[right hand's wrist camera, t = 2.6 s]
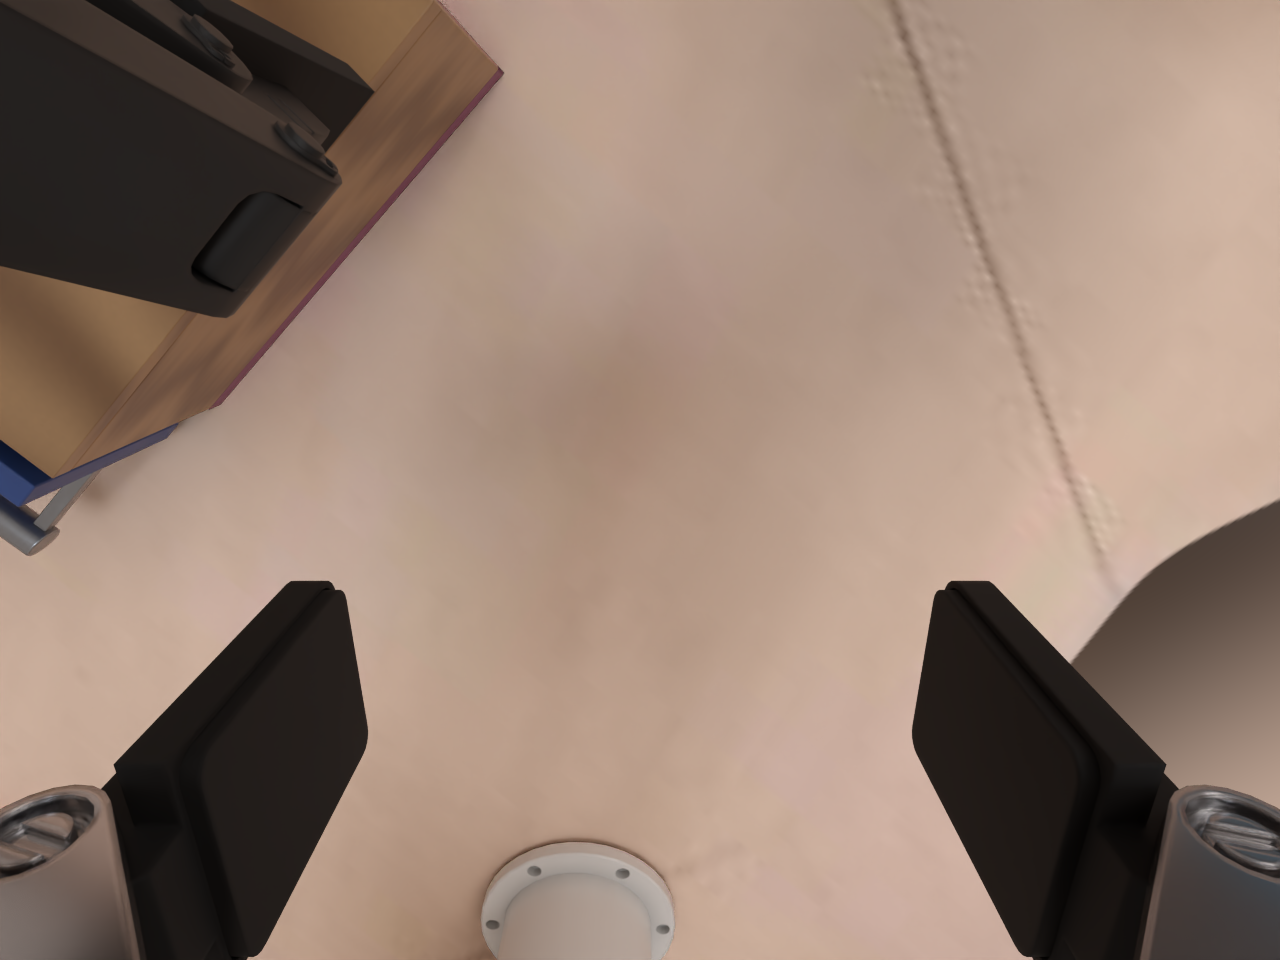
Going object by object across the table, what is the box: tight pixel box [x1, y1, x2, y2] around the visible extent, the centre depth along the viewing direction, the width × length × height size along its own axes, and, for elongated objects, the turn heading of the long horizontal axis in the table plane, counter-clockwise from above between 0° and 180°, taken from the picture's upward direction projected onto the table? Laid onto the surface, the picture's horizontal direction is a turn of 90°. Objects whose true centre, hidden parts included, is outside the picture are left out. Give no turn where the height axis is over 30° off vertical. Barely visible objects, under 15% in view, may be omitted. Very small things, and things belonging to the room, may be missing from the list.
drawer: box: [0, 423, 178, 556], centre depth 27 cm, size 26×9×9 cm, turn 134°
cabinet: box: [0, 0, 504, 478], centre depth 26 cm, size 21×10×11 cm, turn 134°
